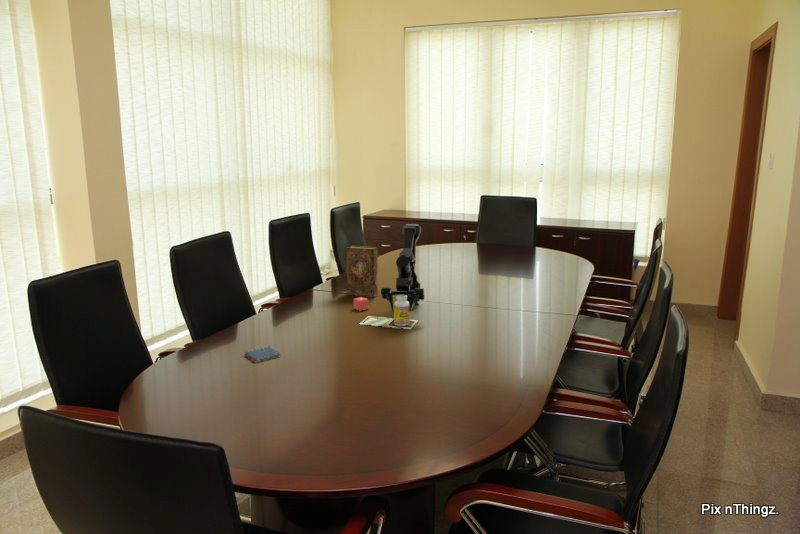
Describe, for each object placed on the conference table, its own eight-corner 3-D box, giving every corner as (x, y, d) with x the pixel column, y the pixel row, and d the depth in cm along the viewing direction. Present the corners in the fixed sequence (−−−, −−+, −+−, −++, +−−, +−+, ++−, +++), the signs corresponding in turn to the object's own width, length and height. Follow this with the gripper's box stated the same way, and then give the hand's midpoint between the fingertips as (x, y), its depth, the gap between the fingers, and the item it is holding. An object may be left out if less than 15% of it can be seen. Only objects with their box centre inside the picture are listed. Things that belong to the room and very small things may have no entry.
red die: (362, 307, 291) (362, 295, 290) (368, 309, 288) (368, 297, 287) (353, 308, 288) (353, 297, 287) (359, 311, 285) (359, 299, 283)
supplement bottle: (398, 327, 260) (398, 298, 257) (391, 323, 266) (391, 294, 263) (412, 325, 263) (412, 296, 260) (404, 321, 269) (404, 293, 266)
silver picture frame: (418, 321, 268) (418, 320, 268) (410, 329, 257) (410, 328, 257) (368, 317, 275) (368, 316, 275) (359, 324, 264) (359, 323, 264)
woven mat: (243, 356, 228) (242, 351, 227) (269, 350, 234) (269, 345, 234) (254, 364, 220) (254, 359, 219) (281, 358, 226) (281, 353, 226)
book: (379, 295, 313) (378, 247, 308) (375, 297, 308) (374, 249, 303) (350, 292, 319) (349, 245, 314) (346, 294, 314) (344, 247, 309)
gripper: (381, 269, 265) (377, 300, 256) (424, 270, 262) (421, 301, 254) (384, 282, 274) (380, 313, 266) (425, 283, 272) (423, 314, 263)
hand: (401, 310), depth 262 cm, fingers open, 7 cm apart
